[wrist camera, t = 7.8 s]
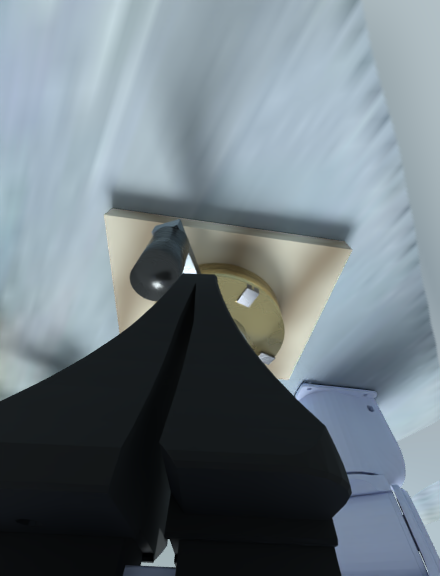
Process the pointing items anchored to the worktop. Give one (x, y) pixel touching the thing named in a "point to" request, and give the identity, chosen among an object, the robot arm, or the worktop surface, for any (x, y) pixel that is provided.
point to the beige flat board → (244, 253)
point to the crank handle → (231, 279)
